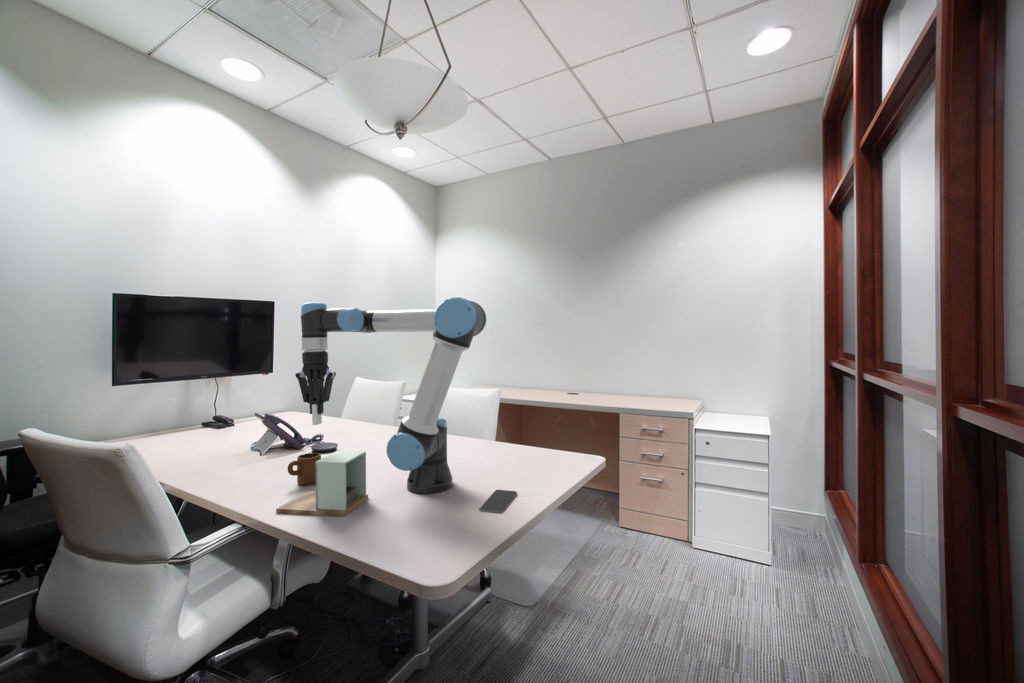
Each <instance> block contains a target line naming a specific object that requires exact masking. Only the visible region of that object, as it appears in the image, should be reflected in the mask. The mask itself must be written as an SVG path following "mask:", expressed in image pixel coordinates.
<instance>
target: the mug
mask: <svg viewBox="0 0 1024 683" xmlns="http://www.w3.org/2000/svg"><path fill="white" fill-rule="evenodd" d="M320 459H322V455H321V453H319V452H307V453H303V454H300V455H298V456H297V460H292V461H291V462H289V464H288V465H287V472H288V474H289V475H290V476H292V477H293V476H297V477H296V479H297V480H296V482H297V484H298V485H299V486H301V487H303V486H304V487H305V486H313V485H316V461H318V460H320ZM294 466H295V467H296V470H294Z"/></svg>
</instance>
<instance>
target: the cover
mask: <svg viewBox="0 0 1024 683" xmlns="http://www.w3.org/2000/svg"><path fill="white" fill-rule="evenodd" d="M346 464H347V487H357V495H360V496H366V494H367V451H366V450H365V451H363V450H362V451H361V450H337V451H335V452H333V453H331V454H329V455H327V456H324V457H321V459H320V460H318V461H316V484H315V492H316V509H324V510H342V511H345V510H346Z"/></svg>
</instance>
